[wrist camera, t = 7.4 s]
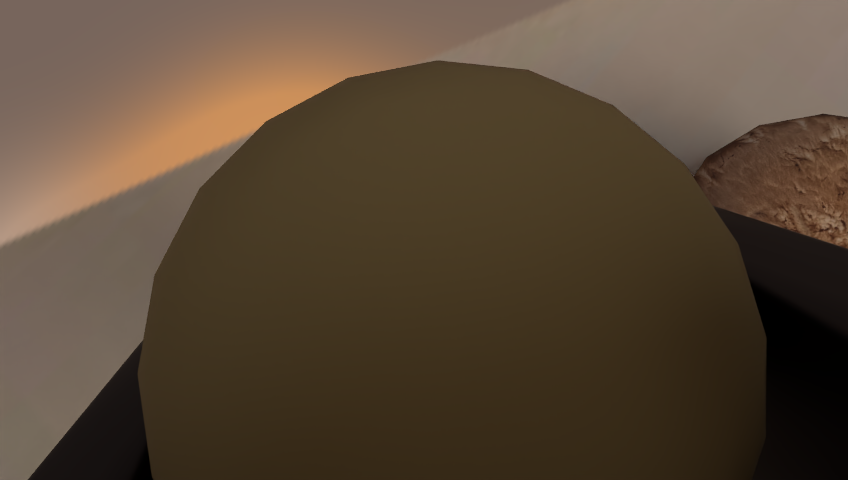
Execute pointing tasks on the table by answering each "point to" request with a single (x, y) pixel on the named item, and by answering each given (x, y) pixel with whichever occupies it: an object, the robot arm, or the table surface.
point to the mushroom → (786, 176)
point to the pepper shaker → (453, 297)
